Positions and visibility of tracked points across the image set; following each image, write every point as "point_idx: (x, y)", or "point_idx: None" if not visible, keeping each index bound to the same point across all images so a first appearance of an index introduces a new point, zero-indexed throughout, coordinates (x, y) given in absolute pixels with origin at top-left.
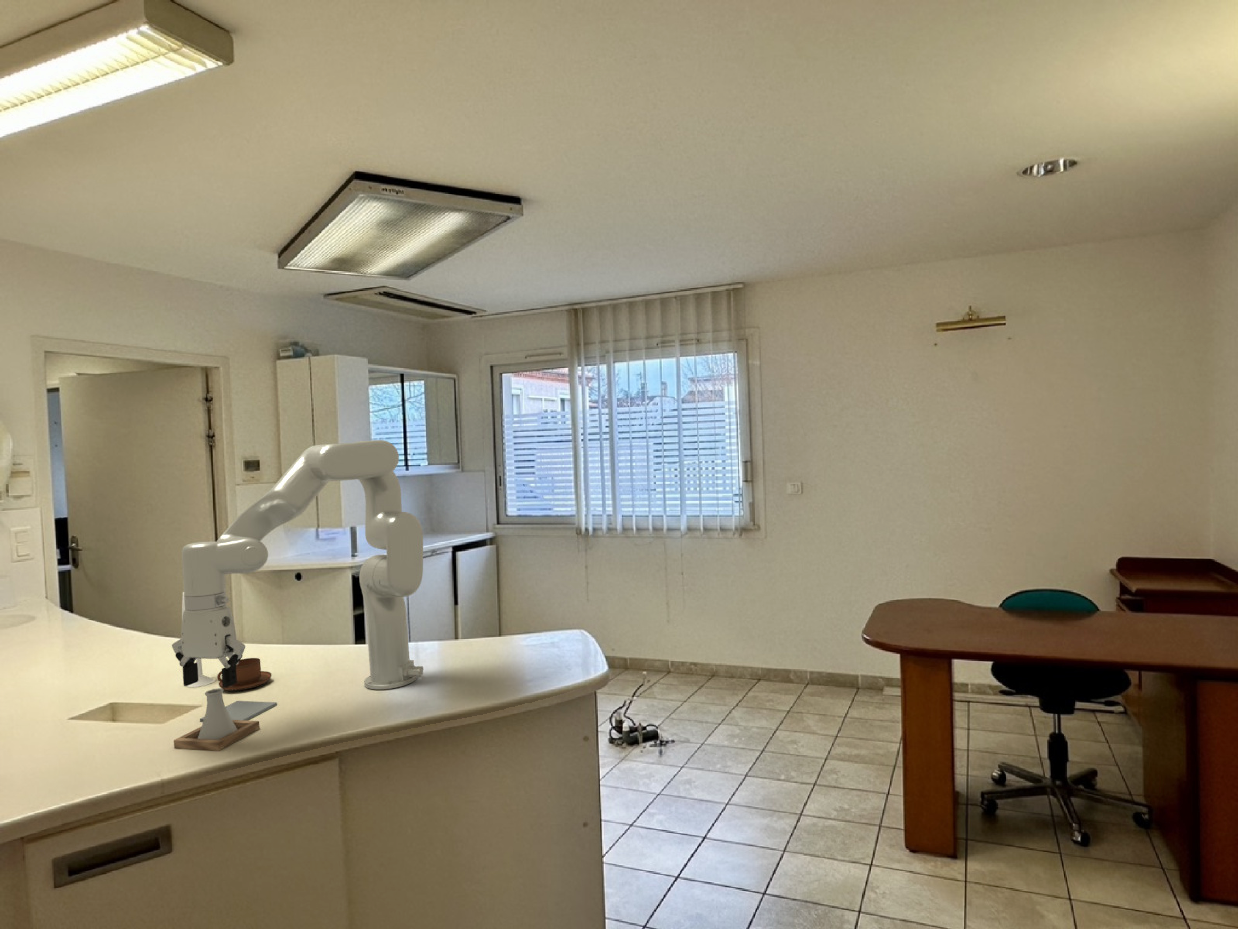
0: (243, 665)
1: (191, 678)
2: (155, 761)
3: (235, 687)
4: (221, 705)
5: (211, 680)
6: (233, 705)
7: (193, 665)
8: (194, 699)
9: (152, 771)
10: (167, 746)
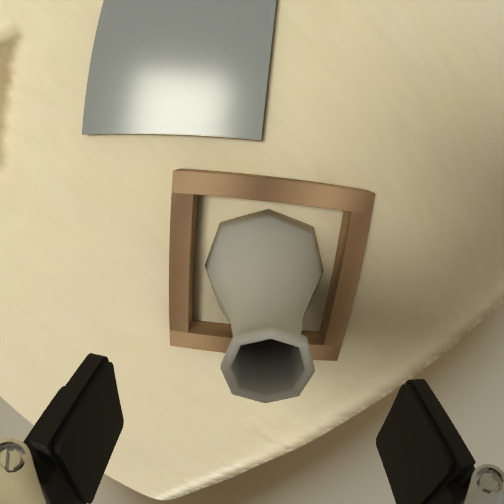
0: None
1: (107, 421)
2: (196, 394)
3: None
4: (301, 327)
5: None
6: (120, 12)
7: (71, 470)
8: None
9: (236, 429)
10: (143, 319)
